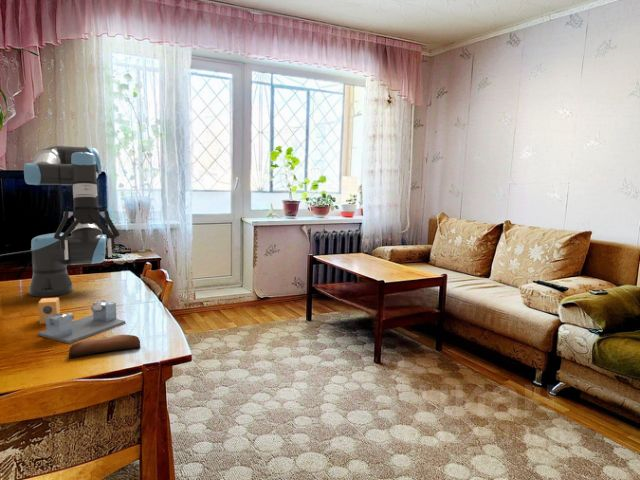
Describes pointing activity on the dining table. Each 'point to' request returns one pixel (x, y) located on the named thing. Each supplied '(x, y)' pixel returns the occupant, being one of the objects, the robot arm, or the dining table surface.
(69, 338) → the board
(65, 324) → the shaft stands
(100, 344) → the sunglasses case
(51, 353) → the dining table surface
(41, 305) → the coupler
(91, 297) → the dining table surface
